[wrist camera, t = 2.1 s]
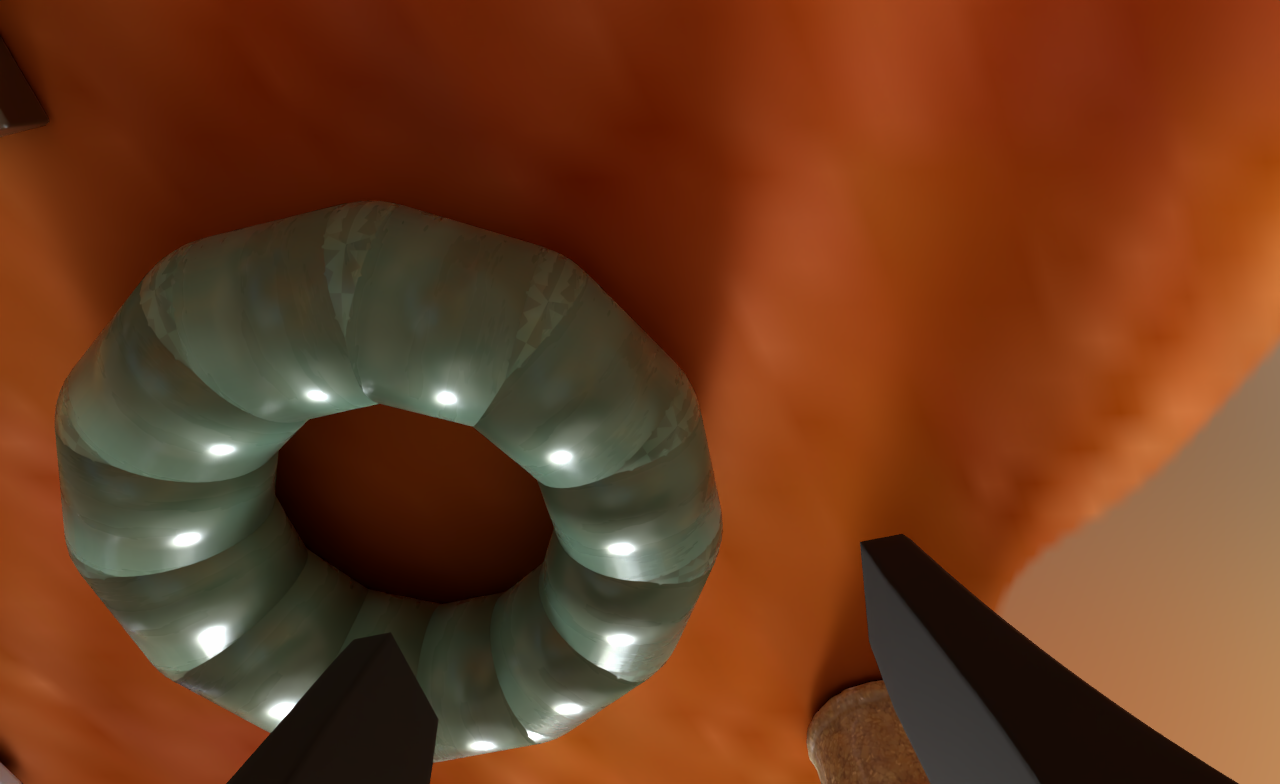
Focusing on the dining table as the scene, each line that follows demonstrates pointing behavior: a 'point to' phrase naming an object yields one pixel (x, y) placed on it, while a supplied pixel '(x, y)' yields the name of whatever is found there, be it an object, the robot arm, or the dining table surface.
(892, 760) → the sprinkles bottle
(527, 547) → the dining table surface
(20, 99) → the holder
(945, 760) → the robot arm
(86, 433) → the ring
